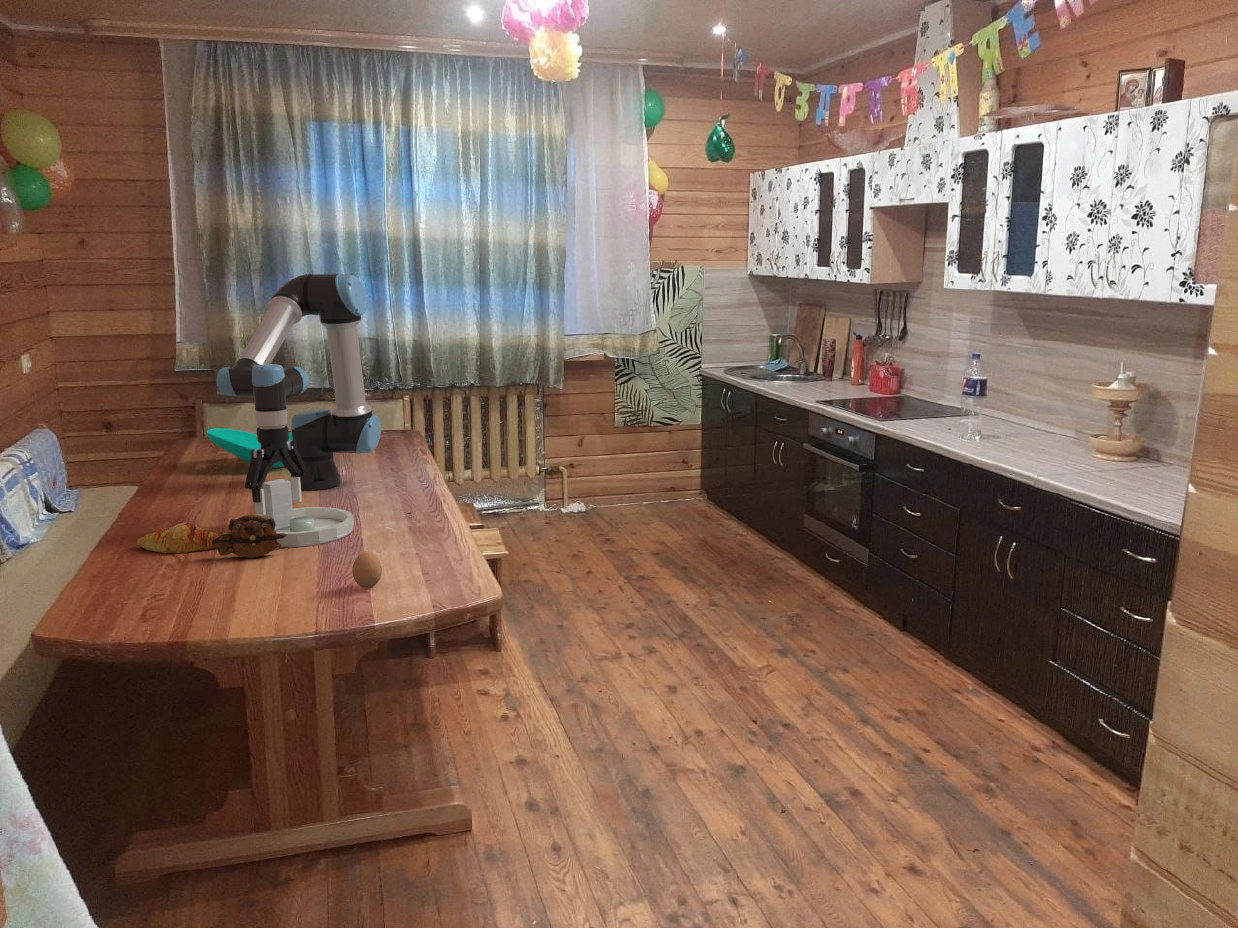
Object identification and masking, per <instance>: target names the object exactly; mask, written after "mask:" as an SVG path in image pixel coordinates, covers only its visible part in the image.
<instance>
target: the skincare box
mask: <svg viewBox="0 0 1238 928" xmlns="http://www.w3.org/2000/svg"><path fill="white" fill-rule="evenodd" d="M261 489H264V498H265V510H266V514H265V515H264V516H265V517H267V518H272V517H273V518H274V520H275V523H276V526H275V530H277V529H281V528H285V527H289V526H290V524H289V520H290V519H293V509H294V507H293V501H292V496H291V484H290V479H289V480H288V479H284V478H279V479H274V480H269V481H264V482H263V485H262V487H261Z"/></svg>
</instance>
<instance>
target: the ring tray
mask: <svg viewBox="0 0 1238 928" xmlns="http://www.w3.org/2000/svg"><path fill="white" fill-rule="evenodd" d="M261 516H264V515H261ZM354 521H355V519H354V515H353V513H352V512H351V511H348V510H345V509H341V508H334V507H328V506H313V507H312V506H308V507H296V508H294V507H293V519H290V520H289V524H290V526H289V527H285V528H281V529H277V530H275V531H276V533H285V534H287V536H286V537H284V538H282V539H277V542H278V543H279V544H281V546H280V547H279V548H282V549H283V548H288V549H289V548H304V547H312V546H319V545H318V544H320V545H324V543H325V544H329V543H333V542H336V540H337V541H340V540H341V539H344V538H346V536H347V537H348V536H350V535H351V534H352V533H353V532H354V527H355V522H354ZM339 539H340V540H339ZM332 541H333V542H332ZM328 542H329V543H328Z"/></svg>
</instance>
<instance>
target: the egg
mask: <svg viewBox="0 0 1238 928" xmlns="http://www.w3.org/2000/svg"><path fill="white" fill-rule="evenodd" d="M351 573H352V577H353V580H354V581H355V583H356V584H357V586H359V587H362V588H365V589H370V588H373V587H374V586H376V585H377V584H378V582H380V580H381V577H382V565H381V562H380V560H379V558H378V557H377V555H375V554H374V553H373V552H371V551H363V552H361V553H359V554H358V555H357V556H356V557H355V560H354V562H353V564H352V572H351Z"/></svg>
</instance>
